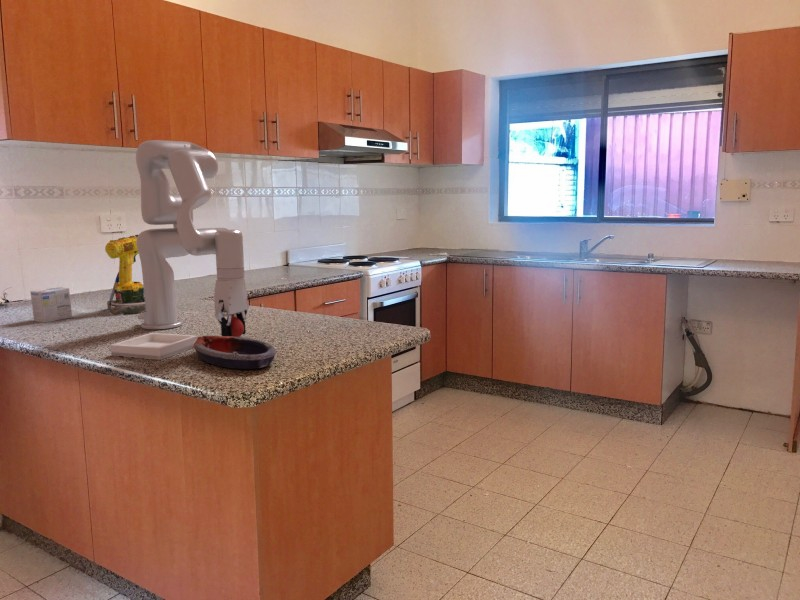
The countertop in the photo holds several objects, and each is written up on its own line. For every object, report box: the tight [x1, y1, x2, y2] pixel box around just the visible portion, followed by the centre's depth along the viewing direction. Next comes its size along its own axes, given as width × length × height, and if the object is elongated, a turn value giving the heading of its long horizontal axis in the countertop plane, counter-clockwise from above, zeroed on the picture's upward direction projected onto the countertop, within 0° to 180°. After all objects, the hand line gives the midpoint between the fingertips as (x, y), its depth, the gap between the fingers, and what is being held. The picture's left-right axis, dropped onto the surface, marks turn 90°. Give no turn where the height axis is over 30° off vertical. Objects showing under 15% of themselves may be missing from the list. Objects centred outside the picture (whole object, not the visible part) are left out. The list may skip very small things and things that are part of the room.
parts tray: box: [109, 332, 199, 361], centre depth 179 cm, size 16×16×3 cm
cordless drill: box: [104, 234, 146, 315], centre depth 244 cm, size 18×19×28 cm
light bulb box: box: [30, 286, 73, 324], centre depth 229 cm, size 11×7×11 cm, turn 149°
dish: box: [193, 335, 277, 370], centre depth 167 cm, size 16×31×5 cm, turn 44°
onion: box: [230, 314, 244, 337], centre depth 186 cm, size 6×6×8 cm
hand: (233, 335), depth 187 cm, fingers closed on onion, 5 cm apart
